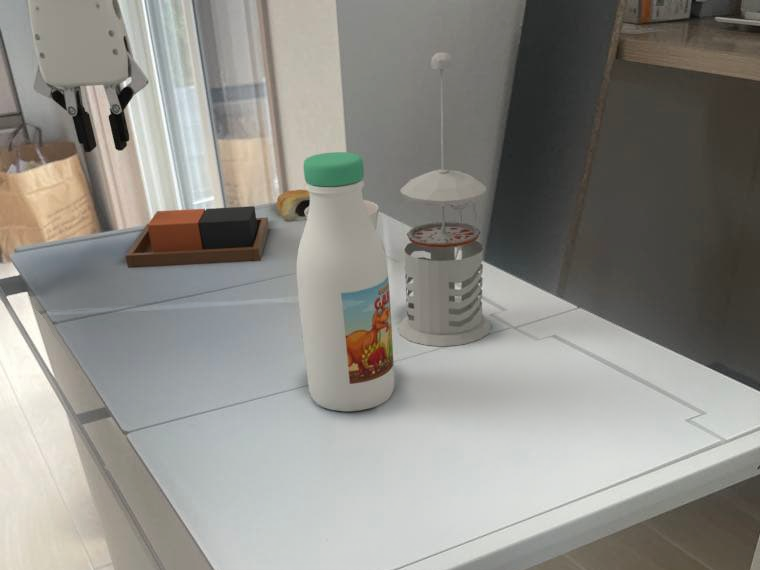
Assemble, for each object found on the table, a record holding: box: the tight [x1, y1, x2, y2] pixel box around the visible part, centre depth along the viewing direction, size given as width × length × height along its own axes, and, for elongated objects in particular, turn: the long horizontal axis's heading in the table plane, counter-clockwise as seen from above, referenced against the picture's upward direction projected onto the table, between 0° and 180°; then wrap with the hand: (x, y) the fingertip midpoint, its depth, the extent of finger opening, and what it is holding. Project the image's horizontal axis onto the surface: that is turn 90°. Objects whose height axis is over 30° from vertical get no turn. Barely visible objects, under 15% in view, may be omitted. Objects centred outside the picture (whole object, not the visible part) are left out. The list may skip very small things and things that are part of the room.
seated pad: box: [199, 205, 258, 250], centre depth 110 cm, size 6×6×4 cm
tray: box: [124, 217, 270, 269], centre depth 110 cm, size 17×14×2 cm
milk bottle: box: [296, 151, 395, 412], centre depth 70 cm, size 8×8×20 cm
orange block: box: [146, 208, 206, 252], centre depth 109 cm, size 6×6×4 cm
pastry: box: [276, 189, 310, 222], centre depth 122 cm, size 9×7×4 cm
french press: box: [397, 51, 492, 347], centre depth 81 cm, size 10×12×25 cm
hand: (106, 147), depth 103 cm, fingers open, 3 cm apart
